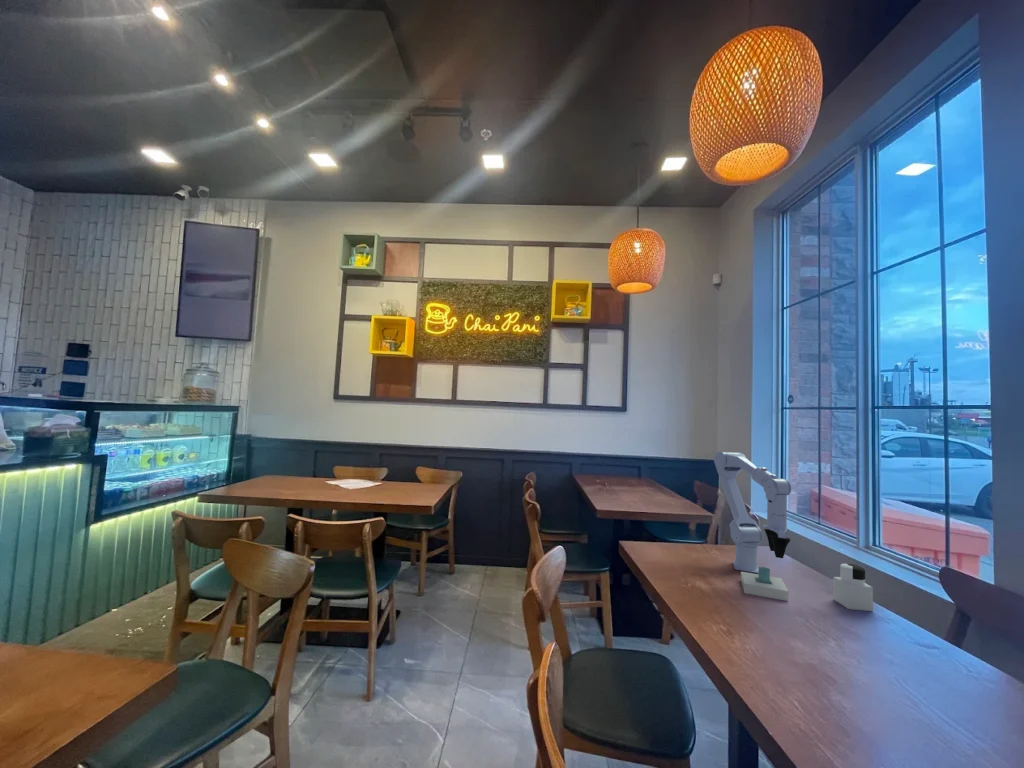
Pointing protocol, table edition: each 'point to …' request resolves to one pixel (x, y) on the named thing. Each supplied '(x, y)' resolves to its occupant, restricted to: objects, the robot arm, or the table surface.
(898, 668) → the table surface
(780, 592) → the socket slab
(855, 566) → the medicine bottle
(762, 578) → the peg
